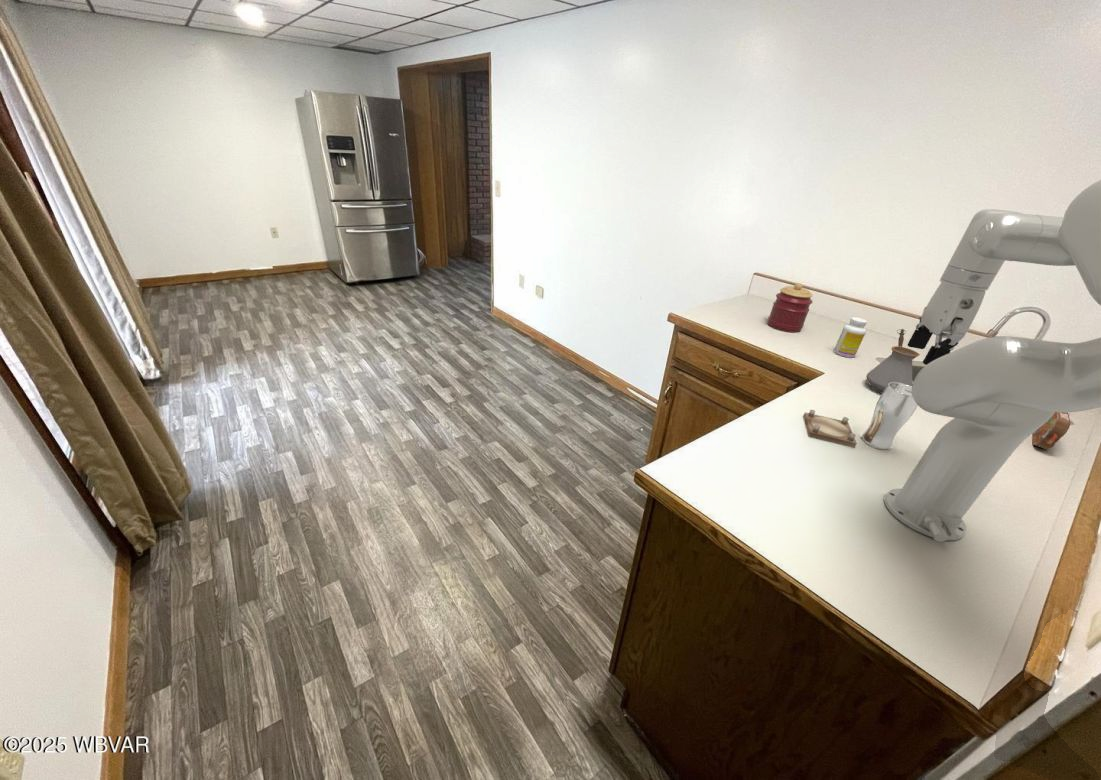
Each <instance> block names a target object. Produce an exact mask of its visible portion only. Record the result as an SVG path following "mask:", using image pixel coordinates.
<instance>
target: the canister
mask: <svg viewBox="0 0 1101 780" xmlns="http://www.w3.org/2000/svg"><path fill="white" fill-rule="evenodd" d="M779 291H780V292H779V293H778V292H777V293H776V294H775V296H776V299H775V300H774V301H773V303H772V304H773V305H772V307H771V311H770V314H769V315H768V319H767V325H768V326H769V327H771V328H773V329H775V330H778V331H782V332H786V333H799V332H800V331H801V332H802V329H803V328H804V323H805V321H806V319H807V317H808V313H809V312H810V306H811V305H812V304H813V299H811V298H812V297H813V294H812V293H811V292H810V290H808V289H807V288H805V287H804V288H803V284H802V283H795V285H794V286H793V285H788V286H785V287H782V288H780V290H779Z"/></svg>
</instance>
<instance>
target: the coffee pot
mask: <svg viewBox="0 0 1101 780" xmlns="http://www.w3.org/2000/svg"><path fill="white" fill-rule="evenodd" d="M898 331H900V332H898ZM896 333H897V334H898V335H899V337H898V342H897V343H898V345H896V346H892V347H891V354H890V355H888V356H887V357H886V358H885V359H884V360H882V361H881V362H880V363H879V364H877V365H876V366H875V367H874V368H873V369H871V370H870V371H869V372H868V373H867V374H866V380H867V382H868V383H867V384H868V385H869V386H870V388H871V389H872V390H874V391H876V392H878V393H881V394H882V393H883V391H884V390H885V388H886V387H887V385H888V384H889V383H891V382H898V383H903V384H907V385H910V386H912V384H913V360H914V359H916V358H917V357H919V356H920V355H921V354H920V353H918V352H917V351H915V350H914V349H911V348H909V347H908V348H907V347H903V344H904V340H905V337H904V335H905V334H906V333H907V331H906V330H905V329H904V328H901V329H897V331H896Z"/></svg>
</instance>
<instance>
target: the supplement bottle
mask: <svg viewBox="0 0 1101 780" xmlns="http://www.w3.org/2000/svg"><path fill="white" fill-rule="evenodd" d="M867 323H868V321H867V320H866V319H864V318H860V317H855V316H853V317H851V318H850V320H849V324H845V325H844V326H843V329H842V330H841V332H840V335H839V337H838V339H837V341H836V344H835V346H834V349H833V352H834V353H835V354H837V355H838V356H841V357H845V358H855V356H856V355H857V353H858V351H859V348H860V346H861V344H862V341H863V339H864V337H865V336H866V334H867V330H866V328H865V326H866V325H867Z"/></svg>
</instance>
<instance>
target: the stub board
mask: <svg viewBox="0 0 1101 780" xmlns="http://www.w3.org/2000/svg"><path fill="white" fill-rule="evenodd" d="M803 420H804V425H805V428H806V432H807V435H808V437H809V438H814V439H817V440H818V439H819V440H821V441H825V442H831V443H835V444H838V445H843V446H848V447H851V448H856V446H857V444H858V442H857V440H856V436H857V434H855V433H854V432H853V431H852V428H851V426H850V424H849V418H848V417H846V416H843V417H842V420H841V419H837V418H832V417H828V416H823V415H818V414H816V410H815V409H810V410H809V412H804V414H803Z"/></svg>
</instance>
